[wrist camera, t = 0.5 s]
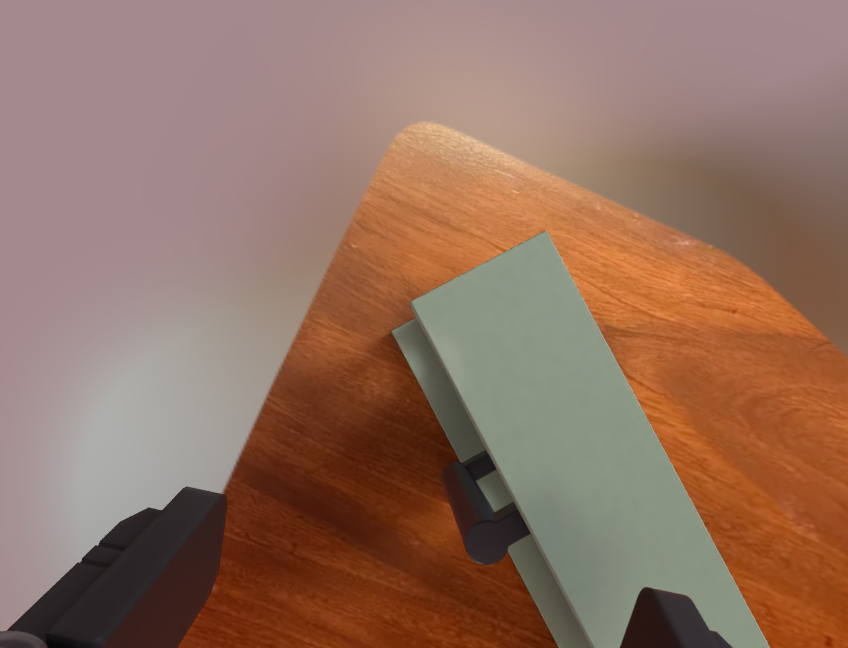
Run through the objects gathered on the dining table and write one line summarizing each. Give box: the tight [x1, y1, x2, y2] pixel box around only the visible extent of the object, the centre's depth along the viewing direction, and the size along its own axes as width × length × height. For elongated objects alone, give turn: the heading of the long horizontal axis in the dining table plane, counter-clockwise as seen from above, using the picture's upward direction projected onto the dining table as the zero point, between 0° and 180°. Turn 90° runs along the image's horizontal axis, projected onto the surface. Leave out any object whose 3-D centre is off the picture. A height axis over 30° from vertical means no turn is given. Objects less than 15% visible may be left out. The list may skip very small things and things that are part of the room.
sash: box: [441, 450, 531, 565], centre depth 25 cm, size 5×8×14 cm, turn 28°
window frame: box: [392, 231, 770, 648], centre depth 25 cm, size 6×22×17 cm, turn 28°
